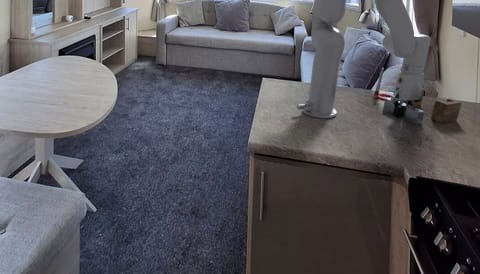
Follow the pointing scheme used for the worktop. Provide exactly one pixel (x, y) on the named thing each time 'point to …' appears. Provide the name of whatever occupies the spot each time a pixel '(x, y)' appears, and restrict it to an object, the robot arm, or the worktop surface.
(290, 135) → the worktop surface
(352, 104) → the worktop surface
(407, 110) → the rail
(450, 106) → the posts
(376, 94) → the tow hook
